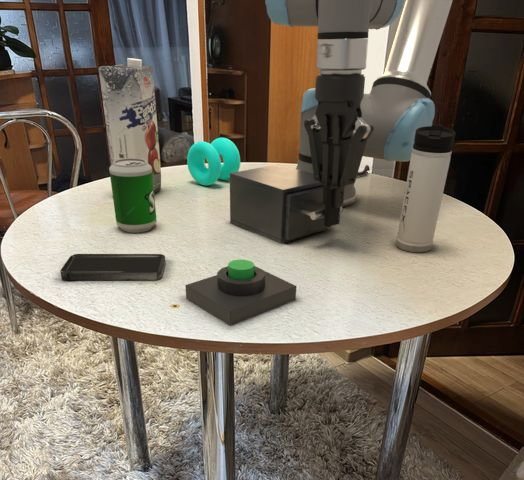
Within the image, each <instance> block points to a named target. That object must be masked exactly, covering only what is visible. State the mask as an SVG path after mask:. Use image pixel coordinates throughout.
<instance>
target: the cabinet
mask: <svg viewBox="0 0 524 480" xmlns="http://www.w3.org/2000/svg"><path fill="white" fill-rule="evenodd" d="M318 186H323V185H322V183H321V182H320V181H316V180H315V179H314V174H312V173H308V172H304V171H301V170H297V169H296V168H293V167H289V166H286V165H282V164H274V165H267V166H262V167H257V168H251V169H245V170H239V171H238V172H233V173H230V180H229V223H230V224H232V225H235V226H237V227H238V228H242V229H244V230H246V231H249V232H252V233H254V234H256V235H258V236H261V237H264V238H266V239H268V240H271V241H273V242H276V243H278V244H284V243H288V242H291V241H294V240H298V239H300V238H301V239H302V238H304V237H307V236H310V235H315V234H318V233H321V232H324V231H327V230H328V229H329V228H327V229H323V230H320V231H317V232H313V233H310V234H307V235H303V236H300V237H297V238H293V239H290V240H286V239H284V238H283V237H284V216H285V196H286V194H287V193H292V192H296V191H300V190H305V189H309V188H314V187H318Z"/></svg>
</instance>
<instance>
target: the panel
mask: <svg viewBox="0 0 524 480" xmlns="http://www.w3.org/2000/svg"><path fill="white" fill-rule="evenodd" d="M185 299H186V300H187V301H189V302H190V303H192V304H194V305H196V306H197V307H199V308H200V309H202V310H203V311H205V312H206V313H209V314H210V315H211V316H213V317H215V318H217V319H218V320H220V321H221V322H223V323H225V324H226V325H228V326H233V325H236V324H238V323H241V322H243V321H246V320H248V319H251V318H253V317H256V316H258V315H260V314H261V315H262V314H264V313H266V312H268V311H271V310H273V309H277V308H278V307H280V306H284V305H287V304H288V303H291V302H293V301H296V299H297V285H295V284H293V283H291V282H289V281H287V280H284V279H283V278H280V277H279V276H276V275H274V274H272V273H270V272H268V271H266V270H264V269H262V268H260V267H258V266H256V265H254V278H251V279H248V280H236V279H231V278H229V277H228V265H227V266H224V267H221V268H220V269H219V270H218V271H217V272H216V275H212V276H210V277H205V278H203V279H200V280H196V281H193V282H190V283H188V284H185Z"/></svg>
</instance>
